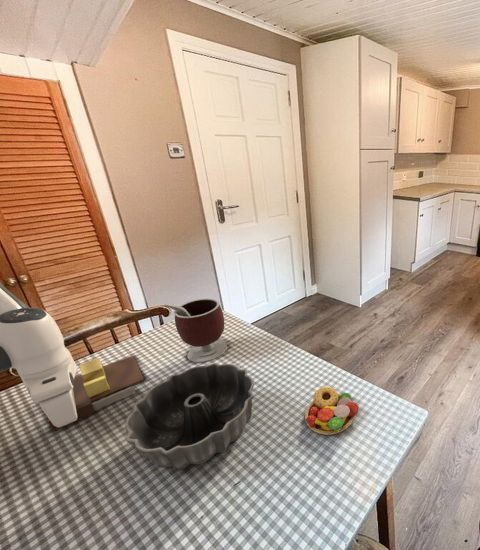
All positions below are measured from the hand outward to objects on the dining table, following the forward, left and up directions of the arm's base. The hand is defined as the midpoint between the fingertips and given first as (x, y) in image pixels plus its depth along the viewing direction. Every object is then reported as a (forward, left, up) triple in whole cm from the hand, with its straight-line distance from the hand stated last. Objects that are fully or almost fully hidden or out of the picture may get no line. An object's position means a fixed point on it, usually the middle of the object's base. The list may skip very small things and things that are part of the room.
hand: (72, 416), depth 77 cm
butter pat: (+6, +7, 0) cm, 9 cm away
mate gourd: (+34, +6, -2) cm, 34 cm away
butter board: (+6, +12, -2) cm, 13 cm away
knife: (+4, 0, -2) cm, 4 cm away
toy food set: (+47, -46, -2) cm, 66 cm away
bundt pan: (+22, -27, -2) cm, 35 cm away
